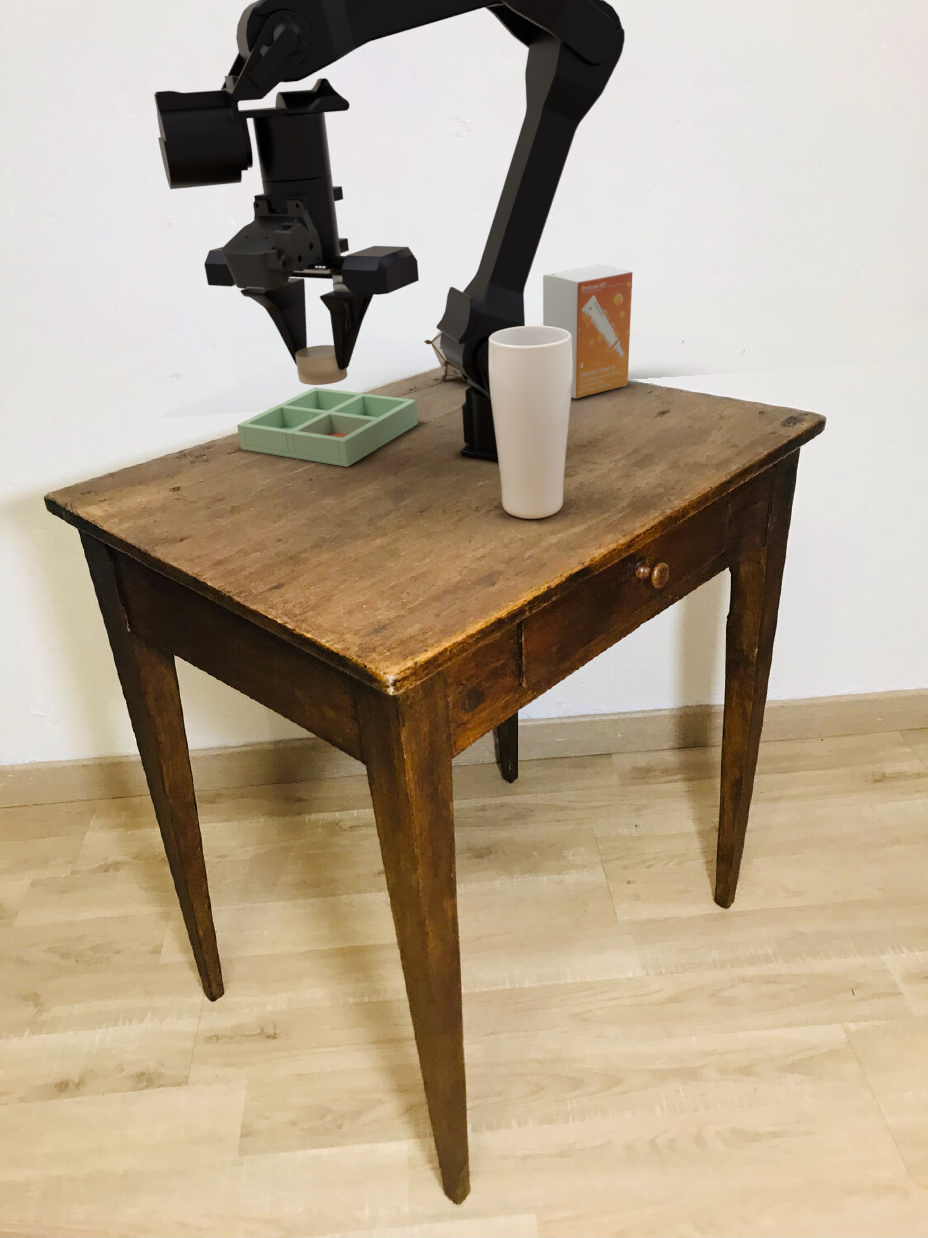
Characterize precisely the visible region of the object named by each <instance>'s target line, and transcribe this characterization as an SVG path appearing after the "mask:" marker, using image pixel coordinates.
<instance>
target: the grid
mask: <svg viewBox="0 0 928 1238" xmlns="http://www.w3.org/2000/svg"><path fill="white" fill-rule="evenodd" d="M417 406H418V405H417V399H411V398H404V397H397V396H395V397H394V396H388V395H387V396H386V395H379V394H370V393H364V392H363V393H362V392H354V391H347V390H340V389H339V390H338V389H330V388H322V387H312V388H311V389H309V390H306V391H305V392H303V393H300V394H298V395H296V396H294V397H292V398H290V399H288V400H286V401H283V402H281V403H279V404H277V405H275V406H273V407H271V408H269V409H267V410H265V411H263V412H261V413H259V414H257V415H255V416H252V417H250V418H248V419H245V420H244V421H242V422H240V423H237V424H236V427H237V432H238V437H239V443H240V449H241V450H243V451H250V452H254V453H255V452H256V453H261V454H267V455H274V456H279V457H286V458H291V459H298V460H304V461H311V462H316V463H322V464H328V465H334V466H341V467H346V468H348V467H350V466H352V465H353V464H354V463H356V462H358V461H360V460H362V459H363V458H364V457H366V456H368V455H369V454H371V453H373V452H374V451H376V450H378V449H379V448H381V447H384V445H386V444H388V443H389V442H391V441H392V440H394V439H396V438H398V437H399V436H401V435H402V434H404V433H406V432H407V431H409V430H410V429H412V428H413V427H415V426H417V425H419V420H418V419H419V418H418V407H417Z"/></svg>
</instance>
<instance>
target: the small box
mask: <svg viewBox="0 0 928 1238" xmlns="http://www.w3.org/2000/svg"><path fill="white" fill-rule="evenodd" d="M633 273H634V272H633V271H630V270H626V269H622V268H616V267H613V266H607V265H601V264H594V265H590V266H585V267H577V268H571V269H565V270H562V271H559V272H554V273H547V274H543V275H542V308H543V309H542V313H543V314H542V318H543V319H542V326H551V327H557V328H561V329H565V330H567V331H568V332H570V333H571V336H572V362H573V372H572V394H571V399H575V400H577V399H580V398H581V399H582V398H583V397H587V396H591V395H595V394H598V393H602V392H606V391H611V390H615V389H618V388H619V389H620V388H625V387H627V386H628V383H629V379H628V378H629V360H630V356H629V355H630V340H631V317H632V316H631V315H632V293H633Z"/></svg>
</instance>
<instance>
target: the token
mask: <svg viewBox="0 0 928 1238" xmlns="http://www.w3.org/2000/svg"><path fill="white" fill-rule="evenodd" d="M295 356H296V363H297V365H296V369H297V375H298V381H299V382H300V383H301V384H304V385H310V386H322V385H331V384H337V383H339V382H341V381H344V380H345V379H347V377H348V367H347V368H346V369H344V370H340V369H339V368H338V364H337V360H336V356H335V349H334V344H321V345H313V346H307V348H304V349H301V350H299V351H297V352H296V354H295Z"/></svg>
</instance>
